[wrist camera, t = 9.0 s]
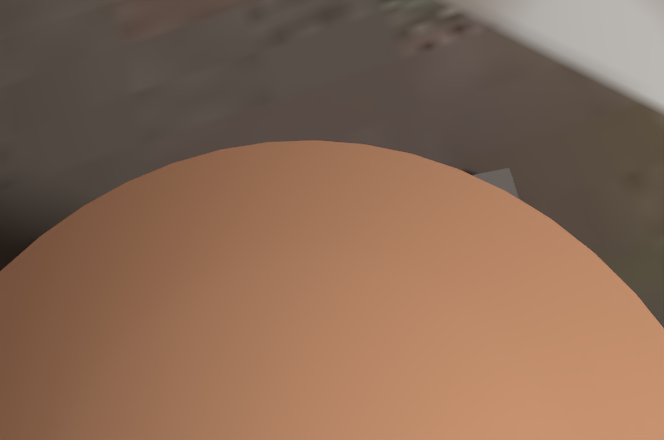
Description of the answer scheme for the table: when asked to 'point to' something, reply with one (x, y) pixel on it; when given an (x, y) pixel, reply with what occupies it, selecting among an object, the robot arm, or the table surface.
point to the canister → (321, 310)
